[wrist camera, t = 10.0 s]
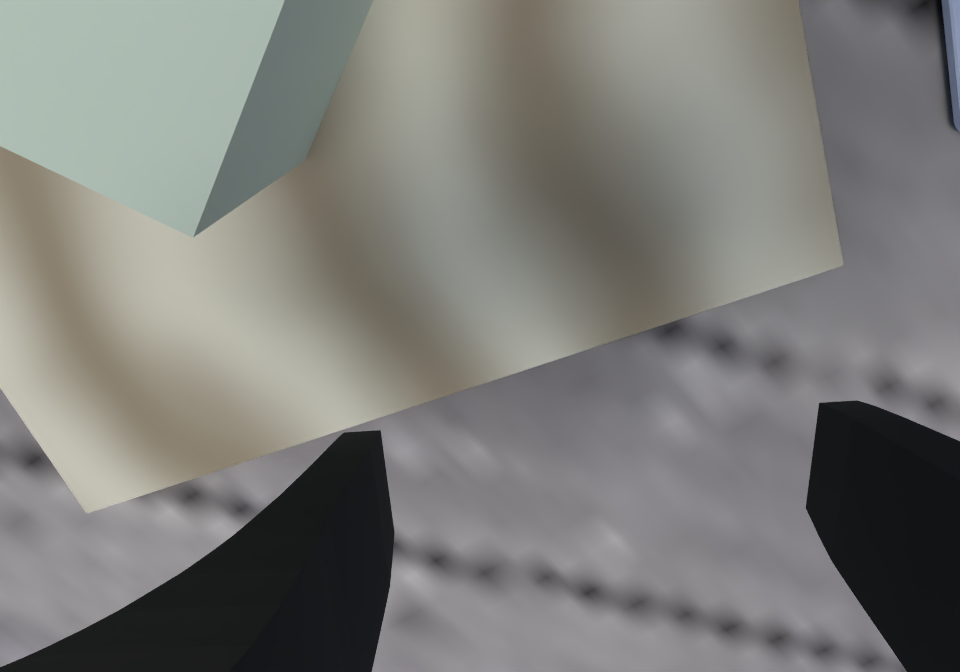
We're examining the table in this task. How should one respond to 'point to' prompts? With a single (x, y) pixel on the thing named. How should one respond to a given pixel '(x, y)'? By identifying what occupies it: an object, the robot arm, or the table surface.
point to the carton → (171, 95)
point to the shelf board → (421, 233)
